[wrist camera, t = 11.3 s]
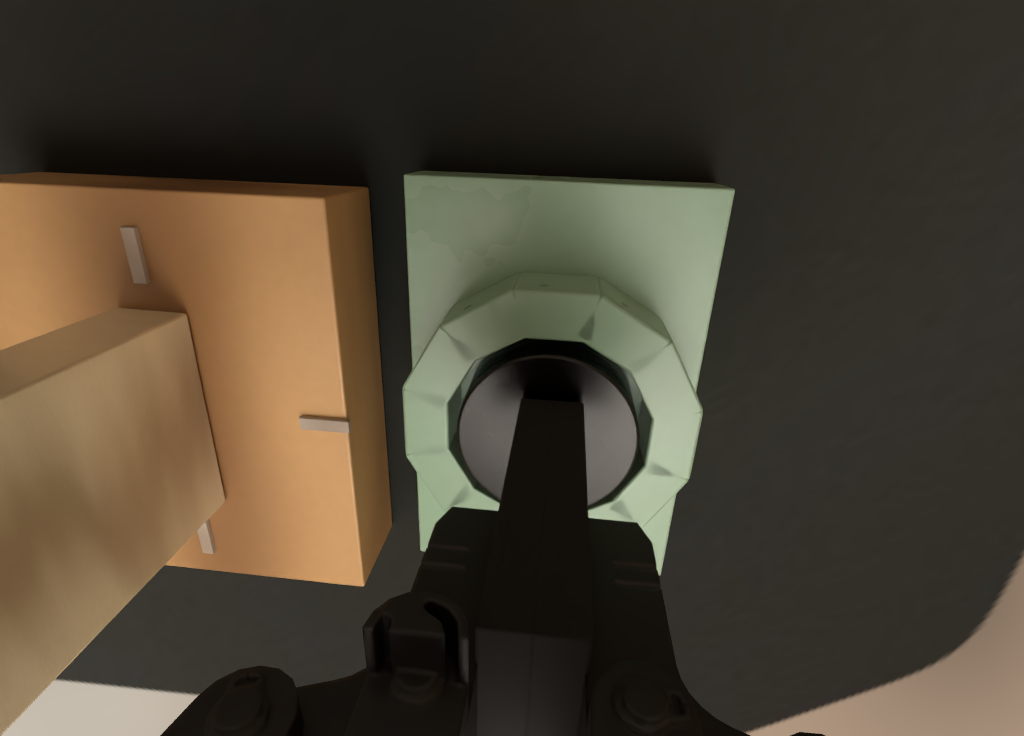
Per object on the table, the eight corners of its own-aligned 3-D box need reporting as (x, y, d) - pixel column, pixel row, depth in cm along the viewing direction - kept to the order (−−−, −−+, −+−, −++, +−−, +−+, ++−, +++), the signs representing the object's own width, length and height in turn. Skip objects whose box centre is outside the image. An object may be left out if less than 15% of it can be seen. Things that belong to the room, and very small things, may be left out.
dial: (226, 501, 16) (-76, 818, 9) (165, 494, 16) (-186, 800, 9) (188, 312, 14) (-281, 524, 6) (115, 306, 14) (-428, 505, 6)
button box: (420, 170, 15) (378, 179, 11) (717, 183, 14) (760, 196, 11) (432, 518, 19) (404, 593, 16) (653, 540, 19) (670, 622, 16)
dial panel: (139, 500, 21) (68, 558, 18) (39, 171, 16) (-80, 178, 13) (395, 525, 20) (365, 591, 17) (372, 186, 15) (325, 199, 12)
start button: (468, 324, 14) (455, 348, 13) (643, 336, 14) (652, 362, 12) (467, 469, 16) (456, 506, 14) (621, 483, 16) (627, 522, 14)
